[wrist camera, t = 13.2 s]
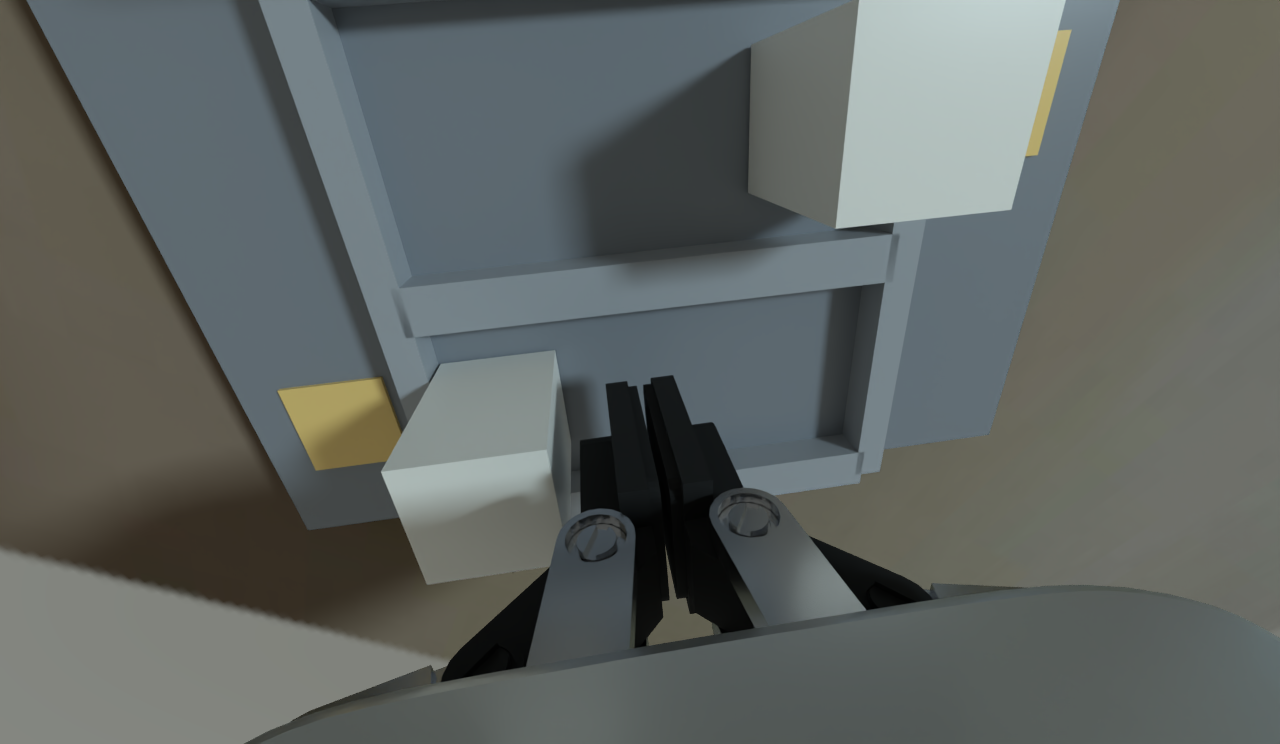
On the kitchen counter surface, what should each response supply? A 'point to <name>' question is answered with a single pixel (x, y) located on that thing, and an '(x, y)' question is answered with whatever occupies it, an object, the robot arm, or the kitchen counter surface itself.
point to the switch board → (543, 225)
